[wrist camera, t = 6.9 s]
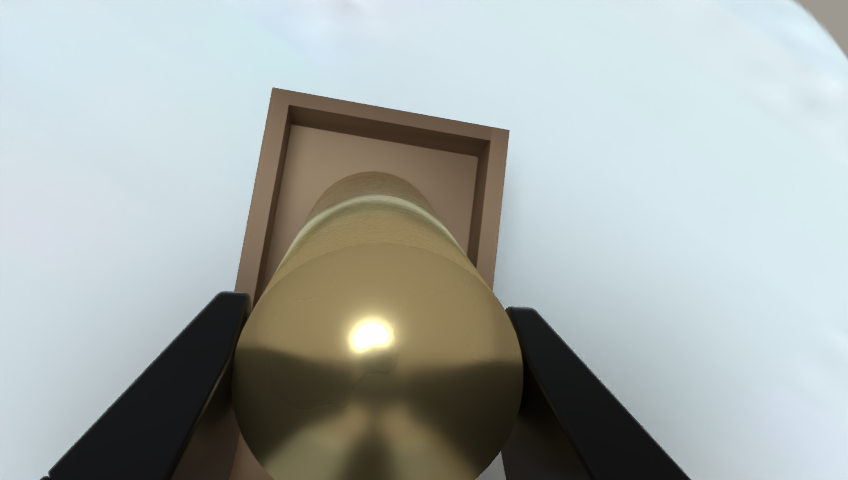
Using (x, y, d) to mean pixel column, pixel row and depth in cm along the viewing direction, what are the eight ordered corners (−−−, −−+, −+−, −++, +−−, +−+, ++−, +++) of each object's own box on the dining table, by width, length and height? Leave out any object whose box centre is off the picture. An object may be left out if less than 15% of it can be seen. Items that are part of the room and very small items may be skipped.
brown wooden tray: (429, 658, 18) (448, 712, 15) (184, 640, 17) (157, 694, 14) (485, 159, 21) (510, 128, 18) (279, 123, 20) (272, 85, 17)
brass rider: (358, 323, 18) (348, 567, 8) (279, 222, 17) (167, 358, 8) (461, 249, 18) (576, 409, 8) (387, 144, 17) (414, 182, 7)
